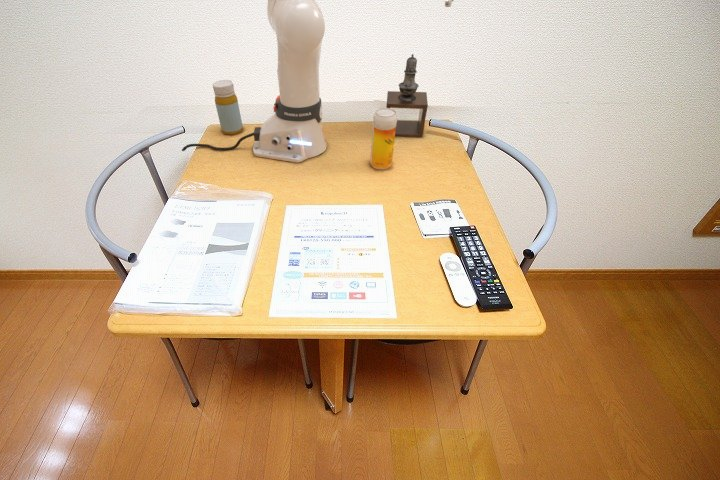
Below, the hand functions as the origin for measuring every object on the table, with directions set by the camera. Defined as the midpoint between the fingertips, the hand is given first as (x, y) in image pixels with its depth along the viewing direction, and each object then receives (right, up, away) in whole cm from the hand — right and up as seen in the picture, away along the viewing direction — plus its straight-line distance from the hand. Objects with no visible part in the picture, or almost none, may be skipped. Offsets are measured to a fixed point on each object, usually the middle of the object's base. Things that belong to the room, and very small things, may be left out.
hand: (430, 4), depth 103 cm
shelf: (-5, -30, +15) cm, 34 cm away
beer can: (-14, -46, 0) cm, 48 cm away
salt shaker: (-5, -23, +8) cm, 25 cm away
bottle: (-61, -29, +19) cm, 70 cm away
